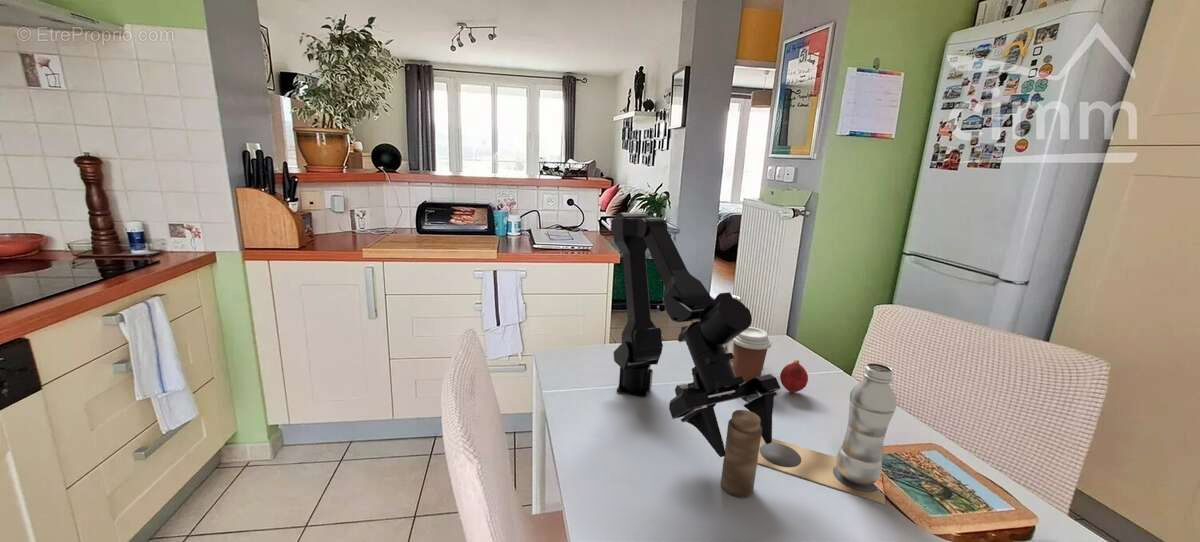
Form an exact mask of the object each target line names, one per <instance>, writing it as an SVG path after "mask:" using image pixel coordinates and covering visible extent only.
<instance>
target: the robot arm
mask: <svg viewBox="0 0 1200 542" xmlns="http://www.w3.org/2000/svg"><path fill="white" fill-rule="evenodd" d="M615 214H616V215H615V216H614V217H613V218H612V219H611V222H610V223H611V224H610V229H611V233H612V236H613V241H614V244H615V246H616V247H617V249H618V250H619V251H620V253H621V254H622V263H623V264H622V265H623V274H624V286H625V299H626V300H625V301H626V313H627V322H626V324H625V326H624V328H623V330H622V332H621V343H620V344H619V346H618V347H617V348H616V349H614V351H613V361H614V363H616V365H618V366H619V377H618V386H617V388H616V392H617V393H621V394H625V395H631V396H636V397H642V398H645V397H646V396H647V395H648V393H649V392H650V390H651V388H652V384H653V373H654V371H653V369H651V368H652V367H651V366H652V365H658V363H659V360H660V358H661V356H662V354H663V353H662V352H663V347H664V344H663V340H662V330H661V327H657V326H656V325H655V324H654V322H653V320H652V318H651V305H650V304H651V303H650V295H649V280H648V270H647V255H646V253H647V249H648V252H649V254H650V256H651V259H652V261H653V263H654V265H655V267H656V269H657V272H658V275H659V276H660V278H661V281H662V282H663V286H664V290H663V295H662V299H663V302H664V305H665V310H666V313H667V314H668V317H669V318H670V319H671V321H672V322H676V323H686V322H691V321H692V323H691V324H690V325H685V326H681V329H680V333H679V334H678V336H677V337H678V338H677V341H678V343H681V342H682V343H683V342H685V343H686V346H687V349H688V351H689V354H690V357H691V359H692V361H693V364H694V367H693V368H691V376H692V377H693V378H692V380H693V381H692V382H689V383H681V384H677V385H676V387H675V388H674V392H675V396H674V397H673V398H672V399H671V400H670V401H669V406H668V410H669V412H670V416H671V419H673V420H675V419H678V418H679V421H681V422H682V423H688V424H690V425H692V426H693V427H694V428H696V429H697V430H698V431H699V433H700V434H702V436H703V437H704V438H705V440H706V441H707V442H708V444H709V445H710V446H711V448H712V449H713V450H714V451H715V453H716V454H717V455H718V456H719V458H724V456H725V445H724V444H725V443H724V440H723V437H722V433H721V429H720V427H719V422H718V420H717V415H716V411H715V408H714V407H716V405H717V404H720V403H724V402H728V401H733V400H738V399H742V400H744V402H746V403H745V404H743V408H745V409H746V410H747V411H751V412H753V413H755V414H757V415H758V416H759V417H760V419H761V421H760V425H761V427H762V434H761V436H762V438H763V439H764V441H765V443H766V444H769V443H771V442H772V439H773V412H774V410H773V409H774V402H775V397H777V396H778V393H777V391H780V390H782V387H781V385H780V383H779V382H778V379H777V377H776V376H775V375H772V374H765V375H761V376H759V377H755V378H753V379H751V380H749V381H748V382H746V383H744V380H743V378H742V376H741V377H736V374H735V372H734V370H733V364H732V363H731V361H733V359H734V356H733V354H732V353H726V350H725V348H724V346H723V344H726V343H728V342H730V341H731V340H732V339H734V338H735V337H736V336H738V335H739V334H741V333H742V332H743V331H745V330H746V329H747V328H748V327H751V324H752V322H753V321H752V320H753V317H752V313H751V311H750V309H749V307H747V306H746V305H745V304H744V303H743V301H742V302H740V301H738V300H737V299H734V298H733V297H732V296H733V295H732V294H731V292H729V291H728V292H719V294H717V296H715V298H714V297H712V296H711V295H710V293H709V291H708V290H707V289H706V287H705V286H704V284H703V282H701V280H699V279H698V278H696V277H695V276H693V275H692V274H691V273H690V272H689V270H688V268H687V266H686V265H685V262H684V261H683V259H682V257H681V254H680V253H679V250H678V248H677V247H676V244H675V242H674V241H673V238H672V237H671V235H670V232H669V231H668V223H667V221H666V220H665V219H664V218H661V217H651V216H649V215H648V213H646V212H639V211H638V212H618V213H615ZM693 321H694V322H693ZM742 383H744V384H742ZM680 418H681V419H680Z"/></svg>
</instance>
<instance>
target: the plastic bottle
mask: <svg viewBox="0 0 1200 542" xmlns="http://www.w3.org/2000/svg"><path fill="white" fill-rule="evenodd" d="M863 377H864V378H863V379H862V380H860V381H859V382H858V383H857V384H855V385H854V386H853V388H852V390H851V391H850V392H849V410H848V411H849V413H848V421H847V427H846V431H845V435H844V438H843V441H842V443H841V446H840V447H839V450H838V453H837V454H836V455H837V456H835V457H836V466H837V469H838V471H839V473H840V474H841V476H842V477H844V478H845V479H846V480H848V481H850V482H852V483H855V484H858V485H871V484H873V483H875V482H876V481H877V480H878V479H879V477H880V475H881V472H882V473H883V471H882V470H883V450H884V449H883V448H884V441H885V438H886V434H887V430H888V428H889V426H890V423H891V420H892V419H893V416H894V414H895V411H896V409H897V406H898V401H897V396H896V394H895V392H894V391H893V389H892V387H891V385H890V384H891V383H892V381H893V378H892V377H893V369H892V368H891V367H890V366H887V365H885V364H882V363H876V362H868V363H866V365H865V370H864V372H863Z"/></svg>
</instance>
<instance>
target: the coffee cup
mask: <svg viewBox="0 0 1200 542" xmlns="http://www.w3.org/2000/svg"><path fill="white" fill-rule="evenodd" d="M732 342H733V356H734V359H733V360H732V367H733V370H734V372H735V374H736V377H741V376H742V378H743V380H744V383H746V382H748V381H749V380H751V379H753V378H755V377H759V376H762V372H763V370H764V365H765V362H766V361H765V360H766V357H767V353H768V349H770V348H771V347H772V345H773V344H772V343H773V341H772V340H771V339H770V338H769V334H768V333H767V331H765V330H763V329H762V328H758V327H752V326H749V327H748V328H747V329H746V330H745V331H743V332H742V333H741V334H739V335H738V336H736V337H735V338H734V339H732ZM744 383H742V384H744ZM742 384H741V385H742Z"/></svg>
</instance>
